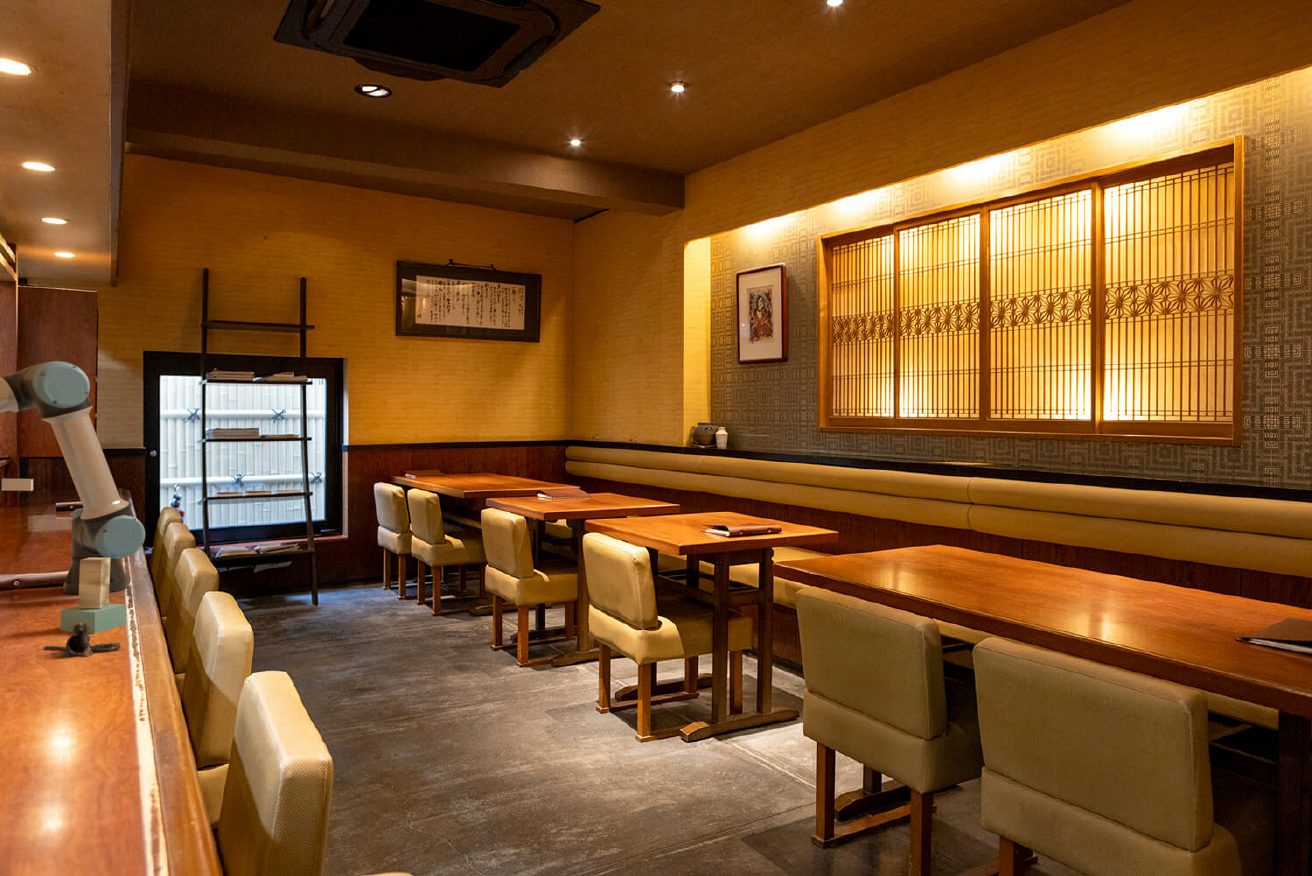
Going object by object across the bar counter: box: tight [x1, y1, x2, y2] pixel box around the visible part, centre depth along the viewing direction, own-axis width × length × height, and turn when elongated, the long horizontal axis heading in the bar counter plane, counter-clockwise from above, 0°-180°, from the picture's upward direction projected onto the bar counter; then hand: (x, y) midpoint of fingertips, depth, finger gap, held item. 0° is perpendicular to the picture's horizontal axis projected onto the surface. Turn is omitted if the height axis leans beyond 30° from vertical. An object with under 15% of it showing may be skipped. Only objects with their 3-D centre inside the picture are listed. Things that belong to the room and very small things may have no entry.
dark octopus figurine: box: [43, 623, 122, 659], centre depth 183 cm, size 12×10×12 cm
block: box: [77, 558, 110, 608], centre depth 203 cm, size 4×4×11 cm
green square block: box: [60, 602, 127, 634], centre depth 203 cm, size 9×9×5 cm
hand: (15, 486), depth 203 cm, fingers open, 13 cm apart
